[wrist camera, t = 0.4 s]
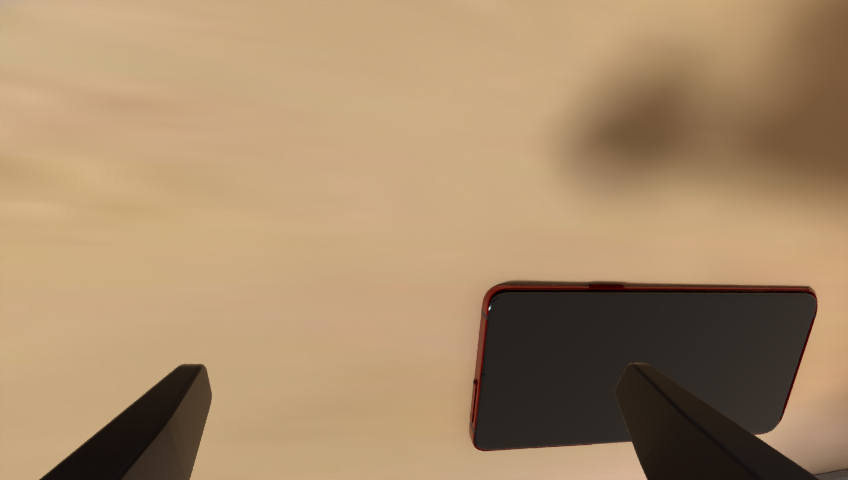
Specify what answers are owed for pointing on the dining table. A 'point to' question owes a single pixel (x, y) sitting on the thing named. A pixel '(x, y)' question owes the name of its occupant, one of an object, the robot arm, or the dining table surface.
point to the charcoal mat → (834, 475)
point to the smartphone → (630, 356)
